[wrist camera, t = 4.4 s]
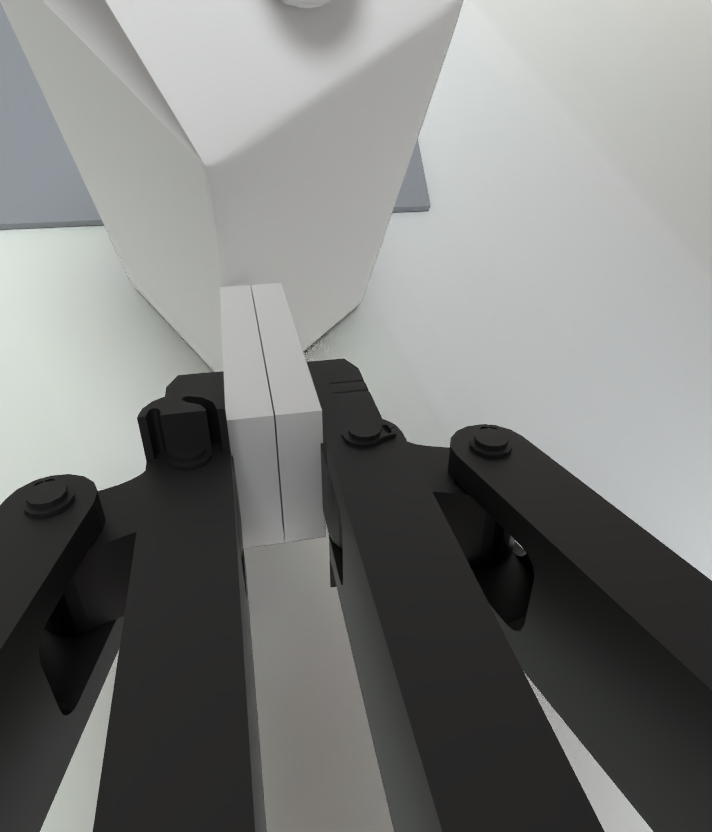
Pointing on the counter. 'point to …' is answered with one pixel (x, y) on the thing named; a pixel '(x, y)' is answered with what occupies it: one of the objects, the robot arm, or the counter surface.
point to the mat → (54, 165)
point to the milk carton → (240, 139)
